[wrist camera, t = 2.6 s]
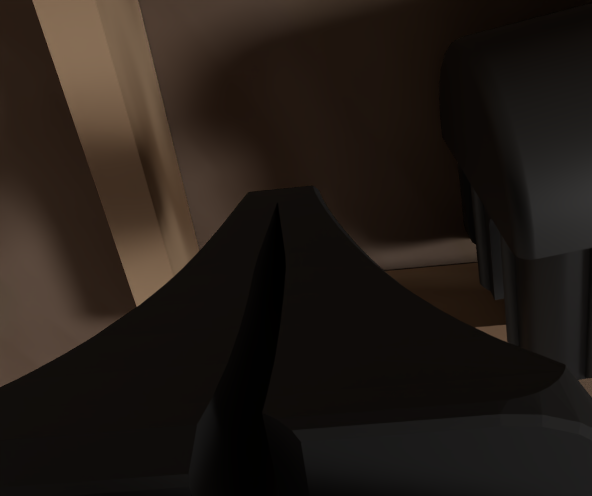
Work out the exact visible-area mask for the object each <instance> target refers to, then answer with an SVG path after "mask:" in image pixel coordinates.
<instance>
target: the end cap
mask: <svg viewBox="0 0 592 496" xmlns="http://www.w3.org/2000/svg"><path fill="white" fill-rule="evenodd" d="M439 100H440V118H441V128H442V137H443V139H444V140H445V142H446V144H447V145H448V147H449V149H450V150H451V152H452V154H453V155H454V157H455V159H456V160H457V162H458V169H459V179H460V188H461V198H462V207H463V217H464V226H465V228H466V230H467V233H468V235H469V237H470V239H471V241H472V242H473V243H474V244H476V249H477V260H478V270H479V281H480V284H481V285H482V286H483V287H484V288H485V289H487V290H489V291H491V293H492V295H493V297H494V300H499V299H504V302H505V317H506V332H507V342H508V343H511V344H513V345H516V346H519V347H521V348H524V349H526V350H529V351H532V352H534V353H537V354H539V355H542V356H545V357H547V358H550V359H552V360H555V361H558V362H560V363H563V364H565V365H567V366H568V368H569V369H570V370H571V372H572V373H573V374H574V376H575V377H576V378H577V380H580V379H585V378H592V3H590V4H586V5H583V6H579V7H575V8H571V9H567V10H563V11H560V12H556V13H552V14H548V15H544V16H540V17H537V18H533V19H529V20H525V21H521V22H517V23H513V24H510V25H506V26H502V27H498V28H494V29H490V30H487V31H483V32H479V33H475V34H471V35H467V36H464V37H461V38H459V39H457V40H455V41H454V42H452V43H451V45H450V46H449V48H448V50H447V51H446V53H445V55H444V59H443V63H442V67H441V73H440V88H439Z"/></svg>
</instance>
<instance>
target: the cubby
mask: <svg viewBox="0 0 592 496" xmlns="http://www.w3.org/2000/svg"><path fill="white" fill-rule="evenodd" d="M32 1H33V4H34V7H35V10H36V13H37V16H38V18H39V21H40V24H41V27H42V30H43V33H44V36H45V39H46V42H47V45H48V48H49V51H50V54H51V57H52V60H53V62H54V65H55V68H56V71H57V74H58V77H59V80H60V83H61V86H62V89H63V92H64V95H65V98H66V101H67V104H68V106H69V109H70V112H71V115H72V118H73V121H74V124H75V127H76V130H77V133H78V136H79V139H80V142H81V145H82V148H83V151H84V153H85V156H86V159H87V162H88V165H89V168H90V171H91V174H92V177H93V180H94V183H95V186H96V189H97V192H98V195H99V197H100V200H101V203H102V206H103V209H104V212H105V215H106V218H107V221H108V224H109V227H110V230H111V233H112V236H113V239H114V242H115V244H116V247H117V250H118V253H119V256H120V259H121V262H122V265H123V268H124V271H125V274H126V277H127V280H128V283H129V286H130V288H131V291H132V294H133V297H134V300H135V303H136V306H139V305H140V304H141V303H143V302H144V301H145V300H146V299H148V298H149V297H150V296H151V295H153V294H154V293H155V292H156V291H158V290H159V289H160V288H161V287H162V286H164V285H165V284H166V283H167V282H168V281H169V280H170V279H172V278H173V277H174V276H175V275H176V274H177V273H178V272H179V271H180V270H181V269H182V268H183V267H184V266H185V265H186V264H187V263H188V262H189V261H190V260H191V259H192V258H193V257H194V256H195V255H196V254H197V253H198V252H199V247H198V243H197V239H196V235H195V231H194V227H193V223H192V219H191V215H190V211H189V206H188V202H187V198H186V194H185V190H184V186H183V182H182V178H181V174H180V170H179V166H178V161H177V157H176V153H175V149H174V145H173V141H172V137H171V133H170V129H169V125H168V120H167V116H166V112H165V108H164V104H163V100H162V96H161V92H160V88H159V84H158V80H157V75H156V71H155V67H154V63H153V59H152V55H151V51H150V47H149V43H148V39H147V35H146V30H145V26H144V22H143V18H142V14H141V10H140V6H139V2H138V0H32ZM385 272H386V273H387V274H389V275H390V276H391V277H392V278H394V279H395V280H396V281H397V282H399V283H400V284H401V285H402V286H404V287H405V288H407V289H408V290H409V291H411V292H412V293H414V294H416V295H417V296H419V297H420V298H422V299H424V300H425V301H427V302H429V303H430V304H432V305H433V306H435V307H437V308H438V309H440V310H442V311H444V312H445V313H447V314H449V315H451V316H453V317H455V318H456V319H458V320H460V321H462V322H464V323H466V324H468V325H471V326H473V327H475V328H477V329H479V330H481V331H483V332H485V333H487V334H489V335H491V336H494V337H496V338H498V339H500V340H503V341H506V342H507V332H506V317H505V302H504V299H499V300H494V297H493V295H492V293H491V291H489V290H487V289H485V288H484V287H483V286H482V285H481V284H480V281H479V270H478V263H468V264H457V265H446V266H435V267H424V268H413V269H402V270H391V271H385Z"/></svg>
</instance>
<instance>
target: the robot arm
mask: <svg viewBox="0 0 592 496" xmlns="http://www.w3.org/2000/svg"><path fill="white" fill-rule="evenodd" d="M0 496H592V397H591V396H590V395H589V394H588V392H587V391H586V390H585V389H584V387H583V386H582V385H581V384H580V382H579V381H578V380H577V378H576V377H575V376H574V374H573V373H572V372H571V370H570V369H569V368H568V366H567V365H565V364H563V363H560V362H558V361H555V360H552V359H550V358H547V357H545V356H542V355H539V354H537V353H534V352H532V351H529V350H526V349H524V348H521V347H519V346H516V345H513V344H511V343H508V342H506V341H503V340H500V339H498V338H496V337H494V336H491V335H489V334H487V333H485V332H483V331H481V330H479V329H477V328H475V327H473V326H471V325H468V324H466V323H464V322H462V321H460V320H458V319H456V318H455V317H453V316H451V315H449V314H447V313H445V312H444V311H442V310H440V309H438V308H437V307H435V306H433V305H432V304H430V303H429V302H427V301H425V300H424V299H422V298H420V297H419V296H417V295H416V294H414V293H412V292H411V291H409V290H408V289H407V288H405V287H404V286H402V285H401V284H400V283H399V282H397V281H396V280H395V279H394V278H392V277H391V276H390V275H389V274H387V273H386V272H385V271H384V270H383V269H382V268H380V267H379V266H378V265H377V264H376V263H375V262H374V261H373V260H372V259H371V258H370V257H369V256H368V255H367V254H366V253H365V252H364V251H363V250H362V249H361V248H360V247H359V246H358V245H357V244H356V243H355V242H354V241H353V240H352V239H351V237H350V236H349V235H348V234H347V233H346V231H345V230H344V229H343V228H342V226H341V225H340V224H339V223H338V222H337V220H336V219H335V217H334V216H333V215H332V213H331V212H330V210H329V209H328V207H327V206H326V204H325V202H324V201H323V199H322V197H321V194H320V191H319V190H318V189H317V188H315V187H314V186H304V187H294V188H284V189H274V190H264V191H254V192H248V193H247V195H246V196H245V197H244V198H243V199H242V201H241V202H240V203H239V204H238V205H237V207H236V208H235V209H234V211H233V212H232V213H231V214H230V216H229V217H228V218H227V219H226V221H225V222H224V223H223V224H222V226H221V227H220V228H219V229H218V230H217V232H216V233H215V234H214V235H213V236H212V237H211V239H210V240H209V241H208V242H207V243H206V245H205V246H204V247H203V248H202V249H201V250H200V251H199V252H198V253H197V254H196V255H195V256H194V257H193V258H192V259H191V260H190V261H189V262H188V263H187V264H186V265H185V266H184V267H183V268H182V269H181V270H180V271H179V272H178V273H177V274H176V275H175V276H174V277H173V278H172V279H170V280H169V281H168V282H167V283H166V284H165V285H164V286H162V287H161V288H160V289H159V290H158V291H156V292H155V293H154V294H153V295H151V296H150V297H149V298H148V299H146V300H145V301H144V302H143V303H141V304H140V305H139V306H137V307H136V308H135V309H133V310H132V311H130V312H129V313H127V314H126V315H125V316H123V317H122V318H120V319H119V320H117V321H116V322H114V323H113V324H111V325H110V326H108V327H107V328H105V329H104V330H103V331H101V332H100V333H98V334H97V335H95V336H94V337H92V338H91V339H89V340H87V341H86V342H84V343H82V344H81V345H79V346H77V347H76V348H74V349H72V350H70V351H69V352H67V353H65V354H64V355H62V356H60V357H58V358H56V359H55V360H53V361H51V362H49V363H47V364H45V365H44V366H42V367H40V368H38V369H36V370H34V371H32V372H30V373H29V374H27V375H25V376H23V377H21V378H19V379H17V380H15V381H13V382H10V383H8V384H6V385H4V386H2V387H0Z"/></svg>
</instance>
